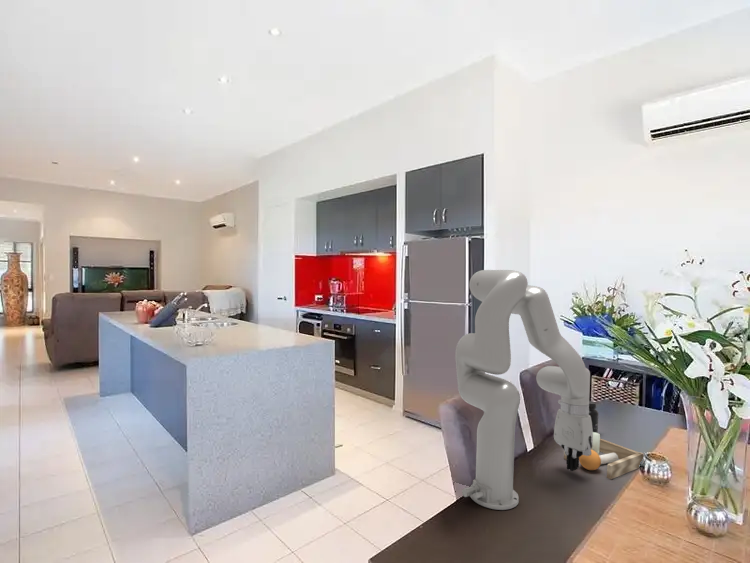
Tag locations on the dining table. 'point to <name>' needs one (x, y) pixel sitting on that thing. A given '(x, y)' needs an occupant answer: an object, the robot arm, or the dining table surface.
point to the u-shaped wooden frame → (627, 458)
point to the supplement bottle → (593, 416)
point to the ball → (590, 461)
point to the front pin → (608, 458)
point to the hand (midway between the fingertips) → (572, 468)
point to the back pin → (596, 442)
